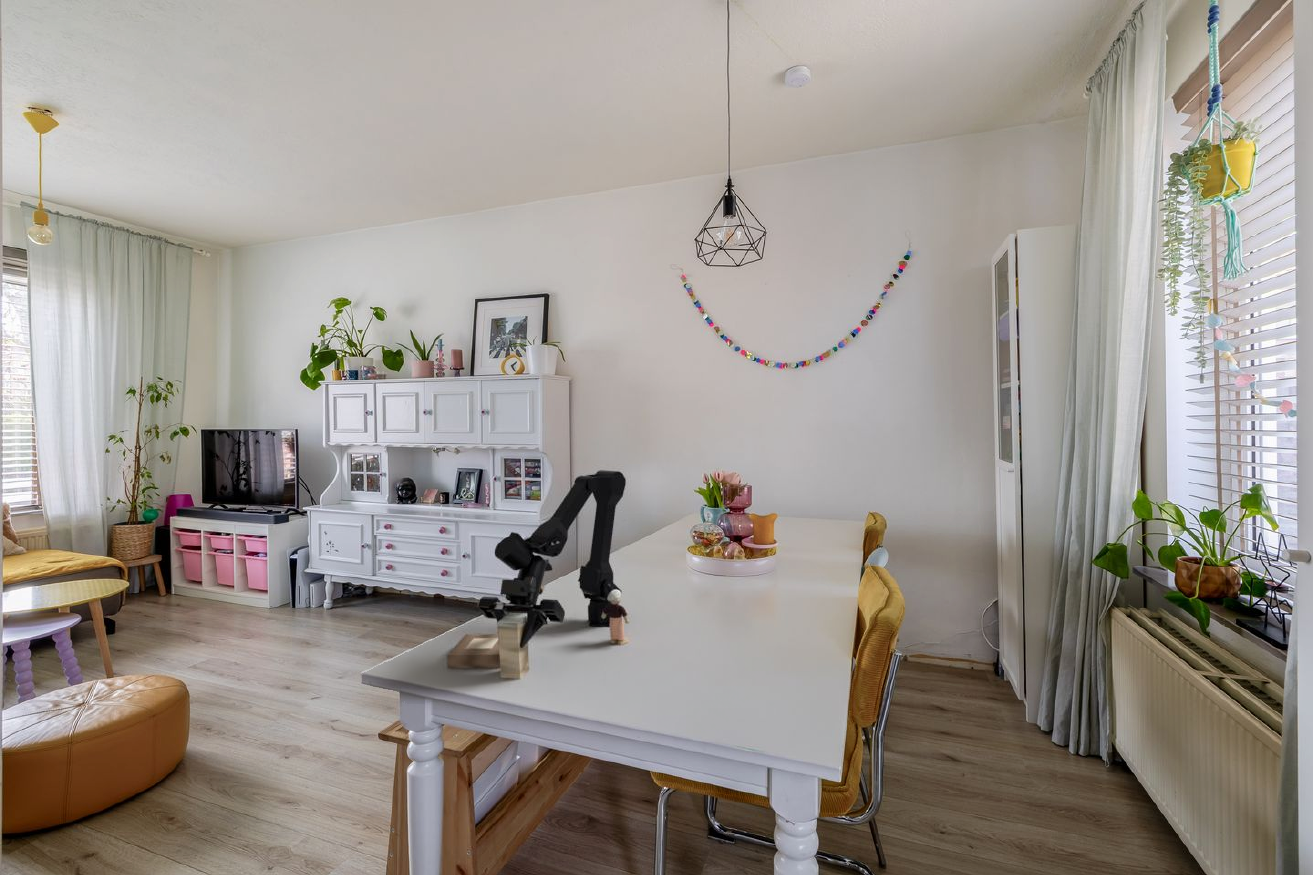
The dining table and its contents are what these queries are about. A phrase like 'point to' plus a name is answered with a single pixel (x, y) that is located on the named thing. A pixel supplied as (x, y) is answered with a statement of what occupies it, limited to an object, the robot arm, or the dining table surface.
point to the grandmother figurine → (616, 617)
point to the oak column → (512, 647)
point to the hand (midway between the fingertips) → (510, 646)
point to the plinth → (475, 652)
